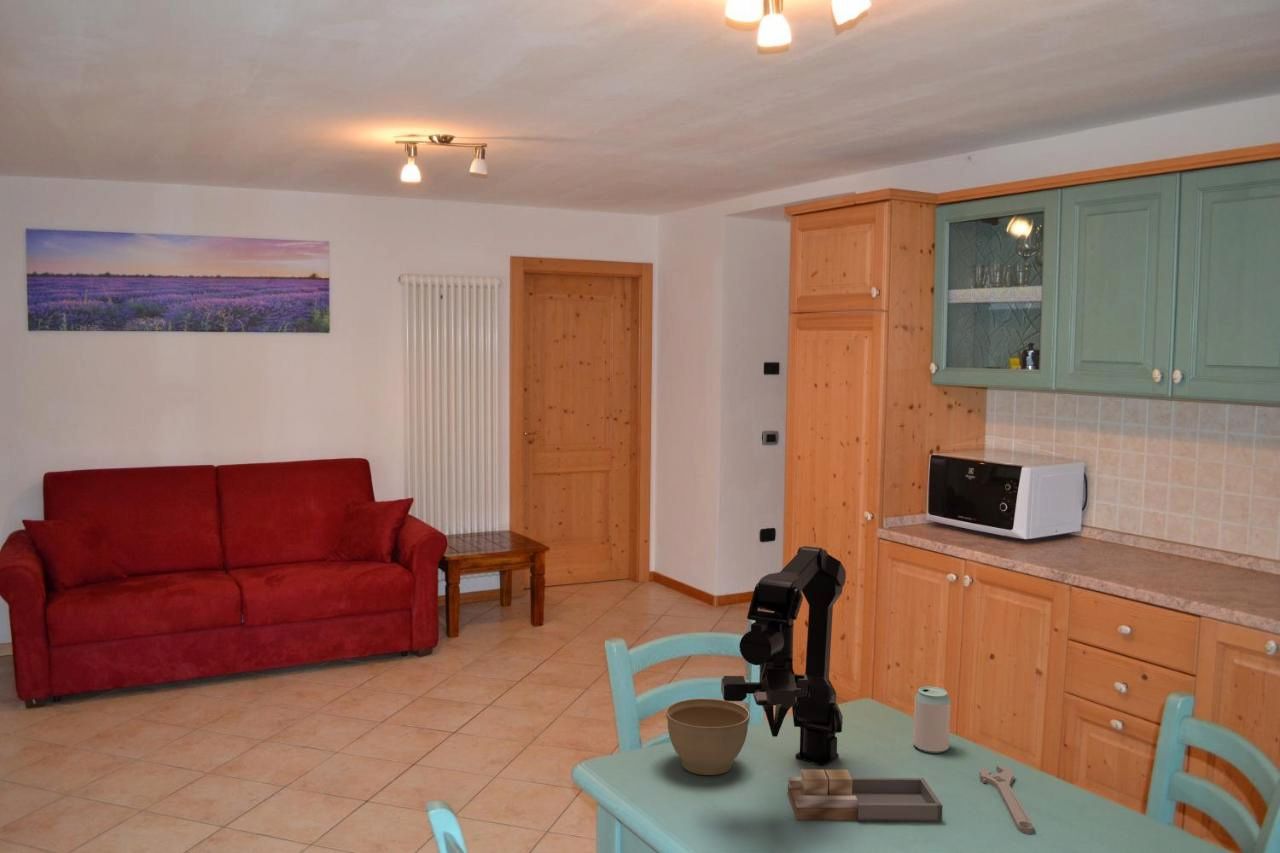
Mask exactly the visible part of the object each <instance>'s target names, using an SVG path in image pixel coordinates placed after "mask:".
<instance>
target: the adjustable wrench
mask: <svg viewBox="0 0 1280 853" xmlns="http://www.w3.org/2000/svg"><path fill="white" fill-rule="evenodd" d="M995 766H996V768H995V770H996V771H997V772H998V773H997V772H996V771H995V772H996V773H992V771H990V770H989V769H987V768H986V767H985V766H981V767H980V769H979V778H980V779H979V782H980V783H982V784H986V783H987V784H986V785H988V784H989V786H990V785H991V787H992V786H993V788H994V787H995V788H996V789H995V788H994V789H995V790H996V791H997V790H998V791H997V792H998V794H999V797H1000V798H1001V801H1002V802H1003V804H1004V806H1005V808H1006V810H1007V812H1008V815H1009V816H1010V817H1011V820H1012V822H1013V824H1014V825H1015V827H1016V830H1017V831H1018V832H1020V833H1022V834H1026V835H1031V833H1032V834H1033V833H1034V831H1035V830H1034V829H1035V825H1034V823H1033V821H1032V820H1031V818H1030V817H1029V815H1028V813H1027V811H1026V810H1025V808H1024V807H1023V805H1022V803H1021V802H1020V800H1019V799H1018V797H1017V795H1016V793H1015V792H1014V790H1013V789H1012V787H1011V785H1012V784H1011V783H1013V782H1014V781H1015V780H1014V776H1015V775H1014V772H1013V770H1011V769H1010V768H1008V767H1006V766H1002V765H995ZM1012 781H1013V782H1012ZM1010 784H1011V785H1010Z"/></svg>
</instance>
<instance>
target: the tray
mask: <svg viewBox="0 0 1280 853" xmlns="http://www.w3.org/2000/svg"><path fill="white" fill-rule="evenodd" d="M851 778H852V796H856V798H857V800H858V801H857V808H858V821H857V822H858V823H865V822H866V823H875V822H876V823H942V822H943V807H944V806H943V804H942V803H941V801H940V800H939V798H938V797H937V796H936V794H935V793H934V791H933V790H932V788H931V786H929V784H928V782H927V781H926V780H925V778H924V777H851Z"/></svg>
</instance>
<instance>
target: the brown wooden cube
mask: <svg viewBox="0 0 1280 853" xmlns="http://www.w3.org/2000/svg"><path fill="white" fill-rule="evenodd" d="M800 770H801V771H800V777H801V793H802V795H815V796H828V778H827V776H826V774H825V770H824V769H802V768H801V769H800Z"/></svg>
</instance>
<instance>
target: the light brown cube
mask: <svg viewBox="0 0 1280 853" xmlns="http://www.w3.org/2000/svg"><path fill="white" fill-rule="evenodd" d="M824 772H825V774H826V776H827V778H828V796H852V778H853V777H852V776H851V774H850V772H849V770H848V769H825V770H824Z"/></svg>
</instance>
